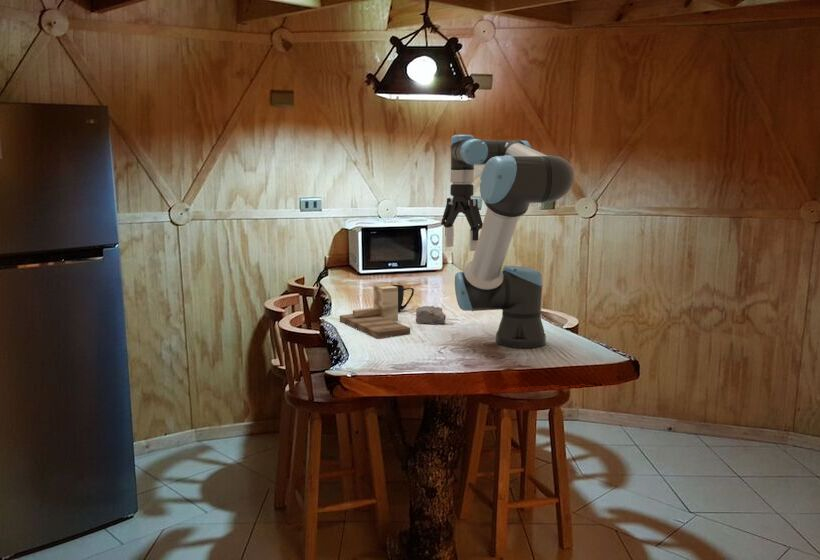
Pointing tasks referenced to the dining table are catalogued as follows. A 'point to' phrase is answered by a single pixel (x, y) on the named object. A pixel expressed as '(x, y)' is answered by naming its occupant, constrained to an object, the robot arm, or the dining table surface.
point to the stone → (430, 315)
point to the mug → (401, 295)
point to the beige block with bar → (382, 303)
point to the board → (375, 325)
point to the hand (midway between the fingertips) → (461, 248)
